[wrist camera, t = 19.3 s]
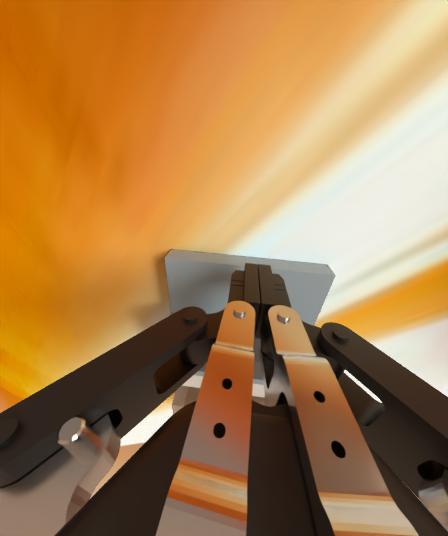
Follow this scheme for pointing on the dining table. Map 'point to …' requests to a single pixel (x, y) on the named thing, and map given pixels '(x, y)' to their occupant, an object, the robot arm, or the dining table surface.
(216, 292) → the vise
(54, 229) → the dining table surface
